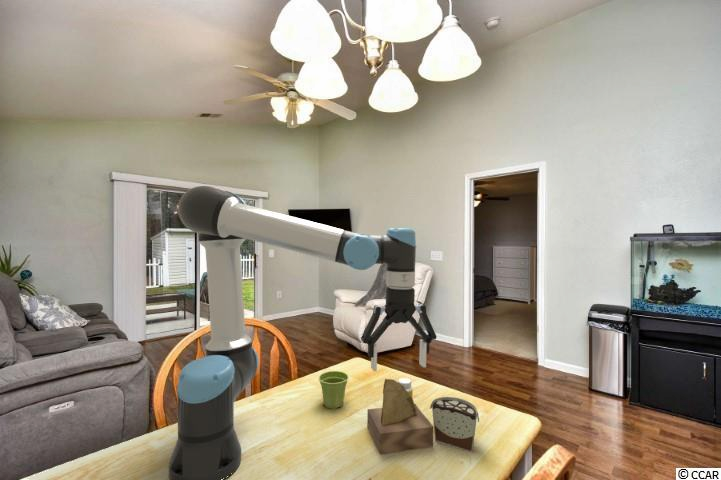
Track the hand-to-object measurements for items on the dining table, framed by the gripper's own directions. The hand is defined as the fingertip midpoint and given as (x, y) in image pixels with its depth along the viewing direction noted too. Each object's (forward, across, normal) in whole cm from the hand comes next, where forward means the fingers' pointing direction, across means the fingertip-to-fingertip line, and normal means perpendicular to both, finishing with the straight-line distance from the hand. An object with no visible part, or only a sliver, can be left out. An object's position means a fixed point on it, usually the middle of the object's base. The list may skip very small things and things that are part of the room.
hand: (398, 367), depth 91 cm
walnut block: (+18, 0, 0) cm, 18 cm away
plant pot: (+19, -14, +21) cm, 31 cm away
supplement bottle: (+18, +7, +14) cm, 24 cm away
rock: (+14, 0, 0) cm, 14 cm away
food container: (+18, +14, -5) cm, 24 cm away
